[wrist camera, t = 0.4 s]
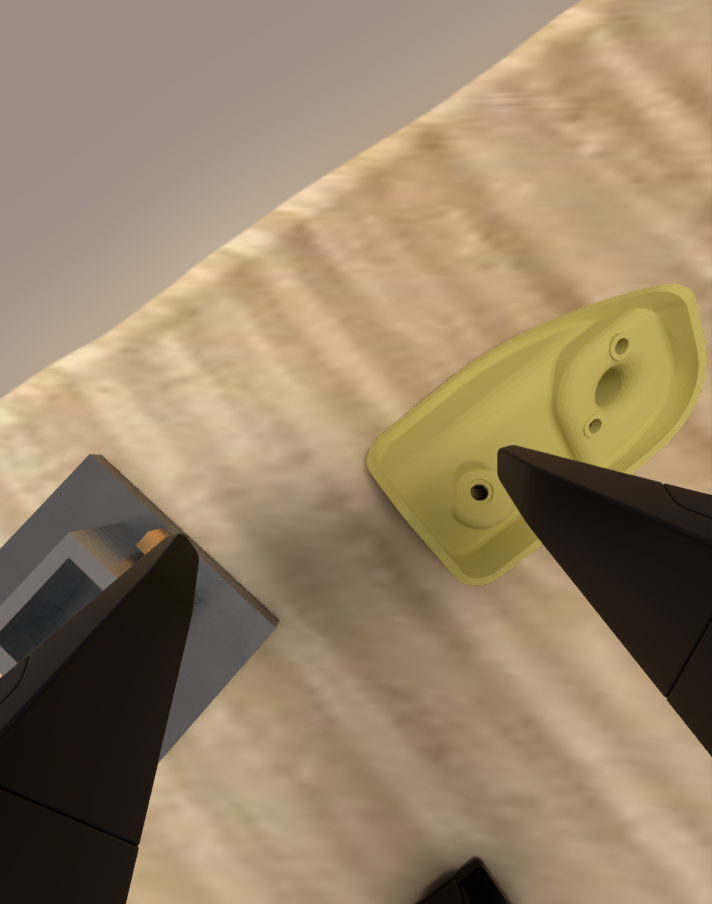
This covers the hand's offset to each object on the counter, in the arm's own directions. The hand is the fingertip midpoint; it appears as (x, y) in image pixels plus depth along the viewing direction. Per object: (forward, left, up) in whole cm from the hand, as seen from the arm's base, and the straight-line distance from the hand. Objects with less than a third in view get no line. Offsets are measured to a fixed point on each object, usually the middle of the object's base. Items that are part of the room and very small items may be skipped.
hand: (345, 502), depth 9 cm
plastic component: (-4, -11, -15) cm, 19 cm away
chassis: (+3, +18, -15) cm, 23 cm away
